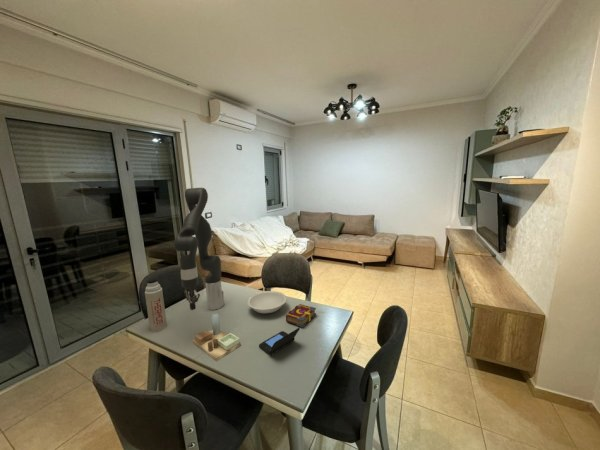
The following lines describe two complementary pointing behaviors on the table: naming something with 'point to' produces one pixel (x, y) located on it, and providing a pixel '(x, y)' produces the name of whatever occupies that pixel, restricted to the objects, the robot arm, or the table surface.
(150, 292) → the thermos bottle
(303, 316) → the decorative book
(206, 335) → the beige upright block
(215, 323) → the dowel
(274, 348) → the game console
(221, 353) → the board
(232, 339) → the tray
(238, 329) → the table surface
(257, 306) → the soup bowl
